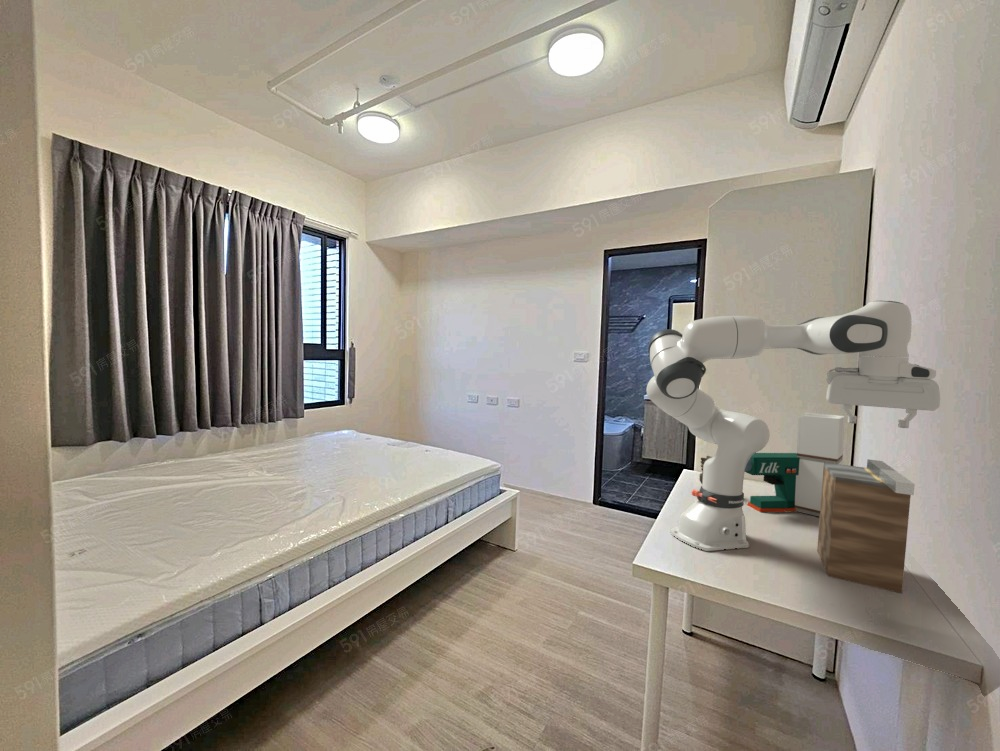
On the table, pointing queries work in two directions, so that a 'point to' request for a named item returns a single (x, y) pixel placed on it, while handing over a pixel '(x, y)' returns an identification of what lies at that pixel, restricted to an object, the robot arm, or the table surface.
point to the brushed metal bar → (890, 477)
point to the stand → (862, 528)
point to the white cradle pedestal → (816, 457)
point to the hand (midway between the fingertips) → (876, 425)
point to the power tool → (775, 480)
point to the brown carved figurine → (702, 467)
